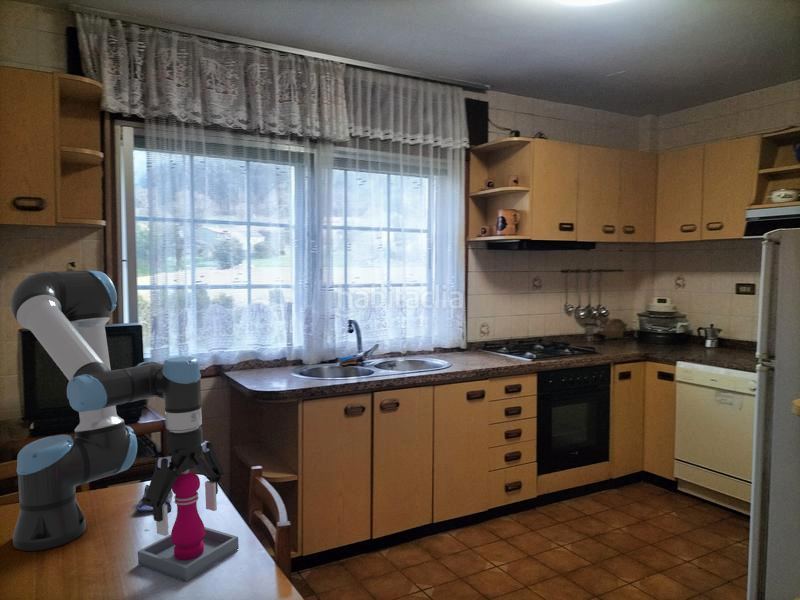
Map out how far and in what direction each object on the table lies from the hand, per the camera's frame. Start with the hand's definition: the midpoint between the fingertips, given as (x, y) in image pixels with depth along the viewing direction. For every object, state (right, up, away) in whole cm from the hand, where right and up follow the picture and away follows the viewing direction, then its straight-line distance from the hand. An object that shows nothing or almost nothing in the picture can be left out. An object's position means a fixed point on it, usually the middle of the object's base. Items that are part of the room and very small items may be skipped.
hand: (188, 521), depth 129 cm
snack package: (-18, -7, +28) cm, 34 cm away
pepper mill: (0, -8, +1) cm, 8 cm away
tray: (0, -8, +1) cm, 8 cm away
